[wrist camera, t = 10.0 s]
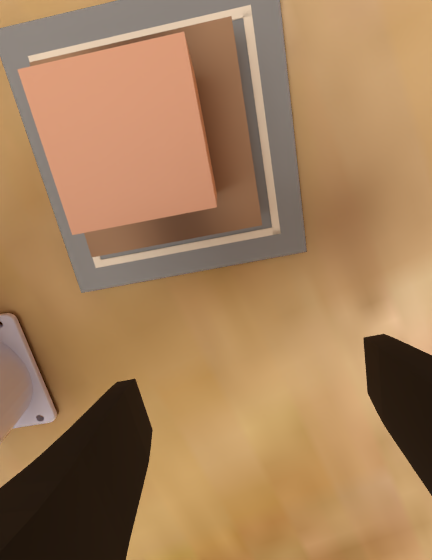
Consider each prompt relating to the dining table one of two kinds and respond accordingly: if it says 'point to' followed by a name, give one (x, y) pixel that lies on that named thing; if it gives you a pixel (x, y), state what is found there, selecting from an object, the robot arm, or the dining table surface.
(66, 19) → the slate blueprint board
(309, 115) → the dining table surface
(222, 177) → the walnut base block
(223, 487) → the dining table surface
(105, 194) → the terracotta block
